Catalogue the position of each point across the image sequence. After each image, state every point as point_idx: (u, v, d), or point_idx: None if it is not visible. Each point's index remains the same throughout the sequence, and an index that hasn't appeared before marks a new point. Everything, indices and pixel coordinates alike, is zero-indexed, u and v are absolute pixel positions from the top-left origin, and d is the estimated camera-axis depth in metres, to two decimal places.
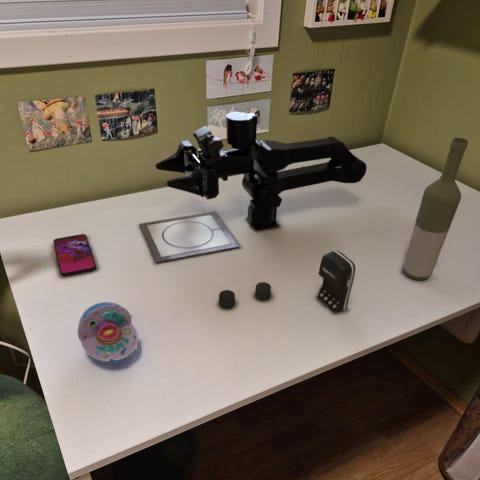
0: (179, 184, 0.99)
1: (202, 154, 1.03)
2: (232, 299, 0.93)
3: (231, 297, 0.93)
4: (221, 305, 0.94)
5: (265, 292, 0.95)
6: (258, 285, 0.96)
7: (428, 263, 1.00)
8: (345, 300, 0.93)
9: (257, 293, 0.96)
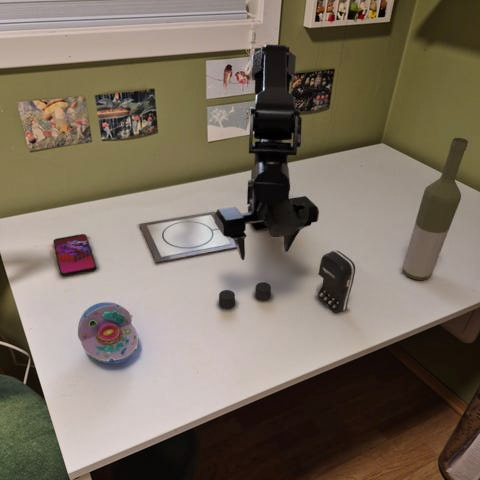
0: None
1: None
2: (232, 299, 0.93)
3: (231, 297, 0.93)
4: (221, 305, 0.94)
5: (265, 292, 0.95)
6: (258, 285, 0.96)
7: (428, 263, 1.00)
8: (345, 300, 0.93)
9: (257, 293, 0.96)
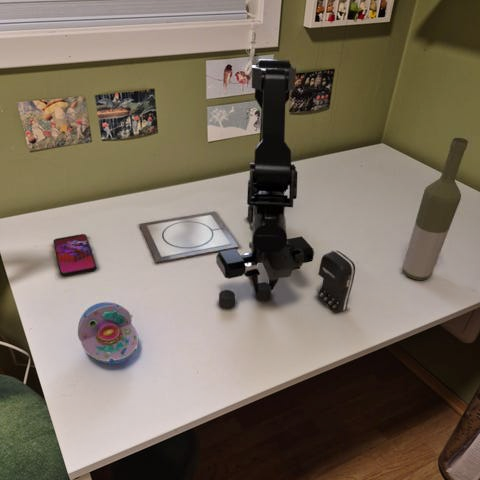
0: None
1: None
2: (232, 299, 0.93)
3: (231, 297, 0.93)
4: (221, 305, 0.94)
5: (265, 292, 0.95)
6: (258, 285, 0.96)
7: (428, 262, 1.00)
8: (345, 300, 0.93)
9: (257, 293, 0.96)
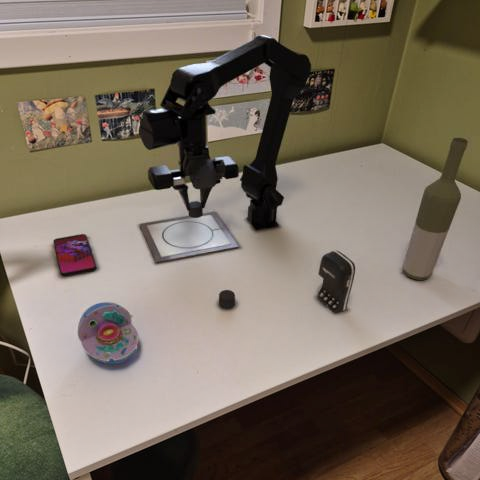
0: None
1: None
2: (232, 299, 0.93)
3: (231, 297, 0.93)
4: (221, 305, 0.94)
5: (197, 209, 1.03)
6: (190, 203, 1.04)
7: (428, 262, 1.00)
8: (345, 300, 0.93)
9: None
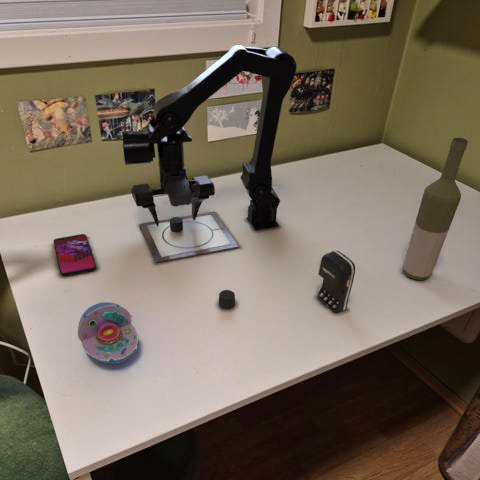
0: None
1: None
2: (232, 299, 0.93)
3: (231, 297, 0.93)
4: (221, 305, 0.94)
5: (177, 224, 1.14)
6: (172, 219, 1.15)
7: (428, 262, 1.00)
8: (345, 300, 0.93)
9: (171, 225, 1.14)
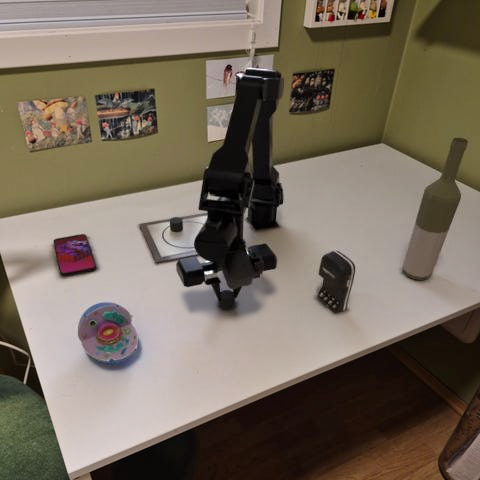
0: None
1: None
2: (232, 299, 0.93)
3: (231, 297, 0.93)
4: (221, 305, 0.94)
5: (177, 224, 1.14)
6: (172, 219, 1.15)
7: (428, 262, 1.00)
8: (345, 300, 0.93)
9: (171, 225, 1.14)
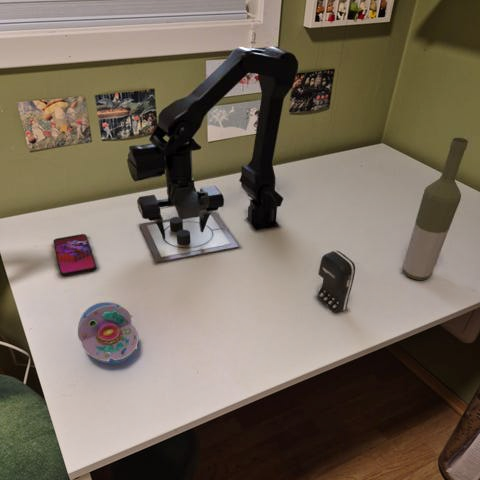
0: None
1: None
2: (187, 236, 1.10)
3: (186, 235, 1.09)
4: (178, 242, 1.10)
5: (177, 224, 1.14)
6: (172, 219, 1.15)
7: (428, 262, 1.00)
8: (345, 300, 0.93)
9: (171, 225, 1.14)
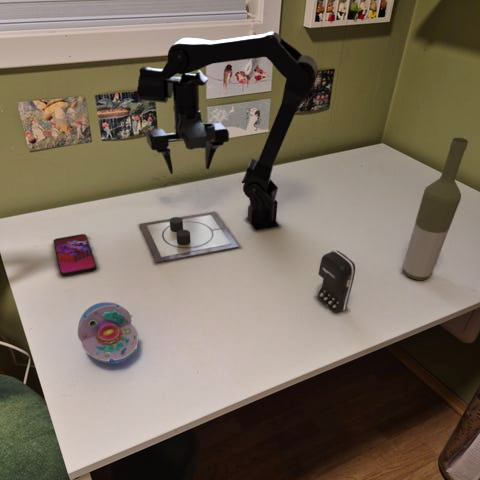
0: None
1: None
2: (187, 236, 1.10)
3: (186, 235, 1.09)
4: (178, 242, 1.10)
5: (177, 224, 1.14)
6: (172, 219, 1.15)
7: (428, 262, 1.00)
8: (345, 300, 0.93)
9: (171, 225, 1.14)
